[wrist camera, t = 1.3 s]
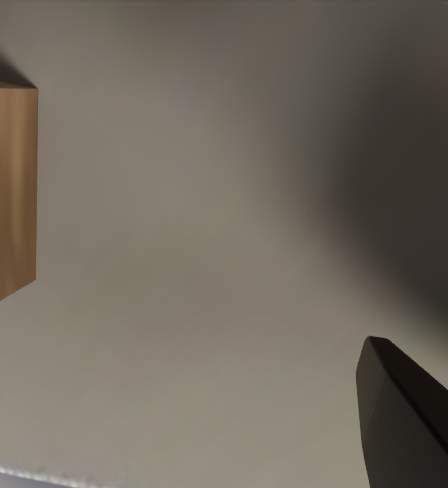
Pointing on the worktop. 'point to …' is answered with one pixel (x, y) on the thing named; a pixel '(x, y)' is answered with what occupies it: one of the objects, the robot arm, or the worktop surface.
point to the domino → (18, 186)
